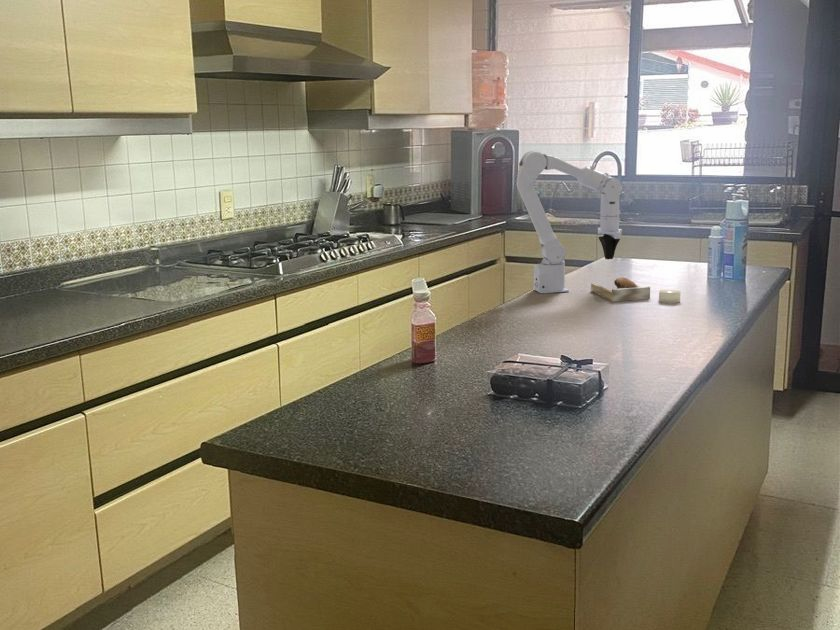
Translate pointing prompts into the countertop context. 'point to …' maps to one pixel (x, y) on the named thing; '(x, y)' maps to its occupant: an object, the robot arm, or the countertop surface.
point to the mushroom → (624, 283)
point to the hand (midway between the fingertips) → (609, 259)
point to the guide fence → (622, 293)
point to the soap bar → (669, 296)
